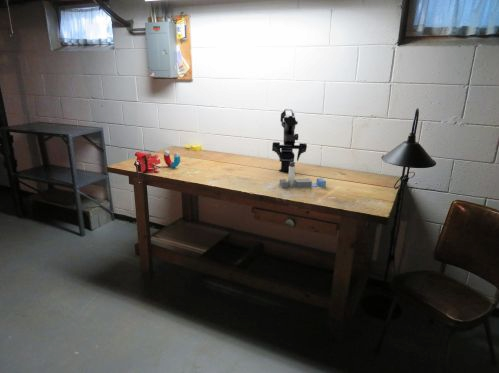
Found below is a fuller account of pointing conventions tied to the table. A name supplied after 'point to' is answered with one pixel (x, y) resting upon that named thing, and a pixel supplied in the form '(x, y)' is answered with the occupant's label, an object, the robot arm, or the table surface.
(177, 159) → the magnet
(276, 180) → the table surface
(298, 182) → the gray notched block
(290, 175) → the dark-capped white cylinder
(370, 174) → the table surface
